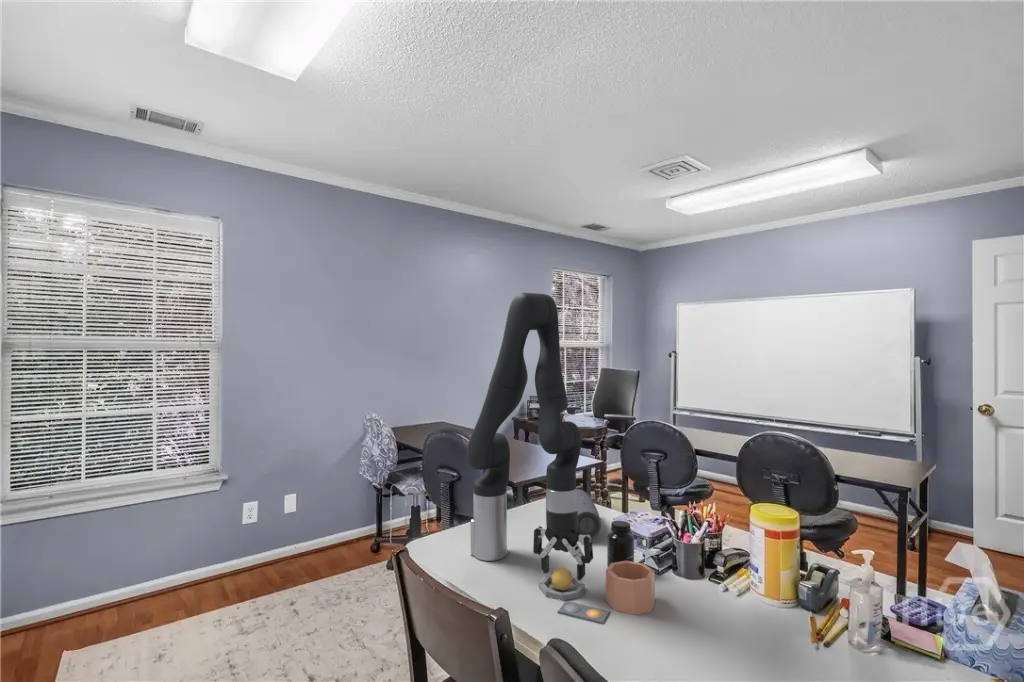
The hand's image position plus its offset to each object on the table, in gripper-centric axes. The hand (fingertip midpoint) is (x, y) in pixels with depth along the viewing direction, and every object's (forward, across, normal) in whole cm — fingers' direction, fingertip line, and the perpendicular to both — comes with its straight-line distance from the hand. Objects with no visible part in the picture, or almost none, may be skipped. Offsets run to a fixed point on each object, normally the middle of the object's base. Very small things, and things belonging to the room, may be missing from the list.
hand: (563, 575), depth 120 cm
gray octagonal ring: (+3, 0, 0) cm, 3 cm away
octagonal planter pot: (+4, +16, +1) cm, 16 cm away
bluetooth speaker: (+3, -8, +39) cm, 40 cm away
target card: (+4, +8, -8) cm, 11 cm away
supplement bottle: (+4, +10, +16) cm, 19 cm away
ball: (+1, 0, 0) cm, 1 cm away
